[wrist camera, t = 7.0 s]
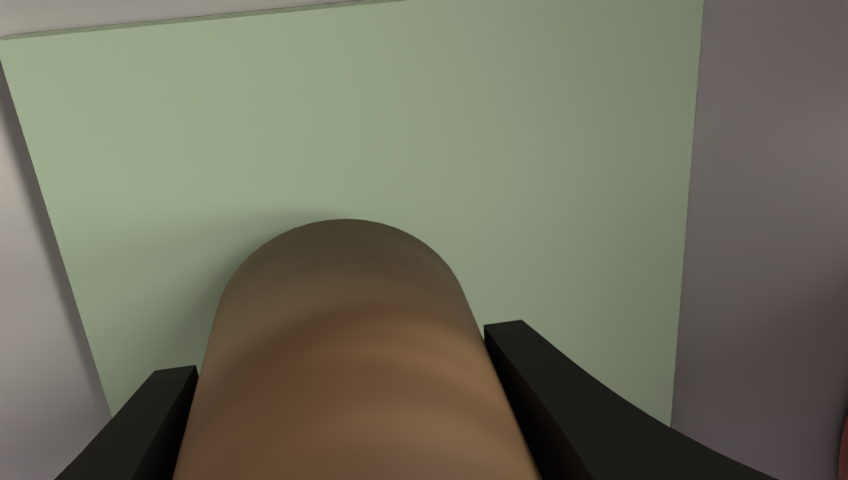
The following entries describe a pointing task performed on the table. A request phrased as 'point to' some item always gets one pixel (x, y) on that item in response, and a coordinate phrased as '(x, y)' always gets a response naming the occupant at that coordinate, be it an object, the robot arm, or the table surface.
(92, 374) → the table surface
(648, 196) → the green mat
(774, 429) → the table surface
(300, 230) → the walnut cylinder
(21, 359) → the table surface
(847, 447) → the canister
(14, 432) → the table surface
